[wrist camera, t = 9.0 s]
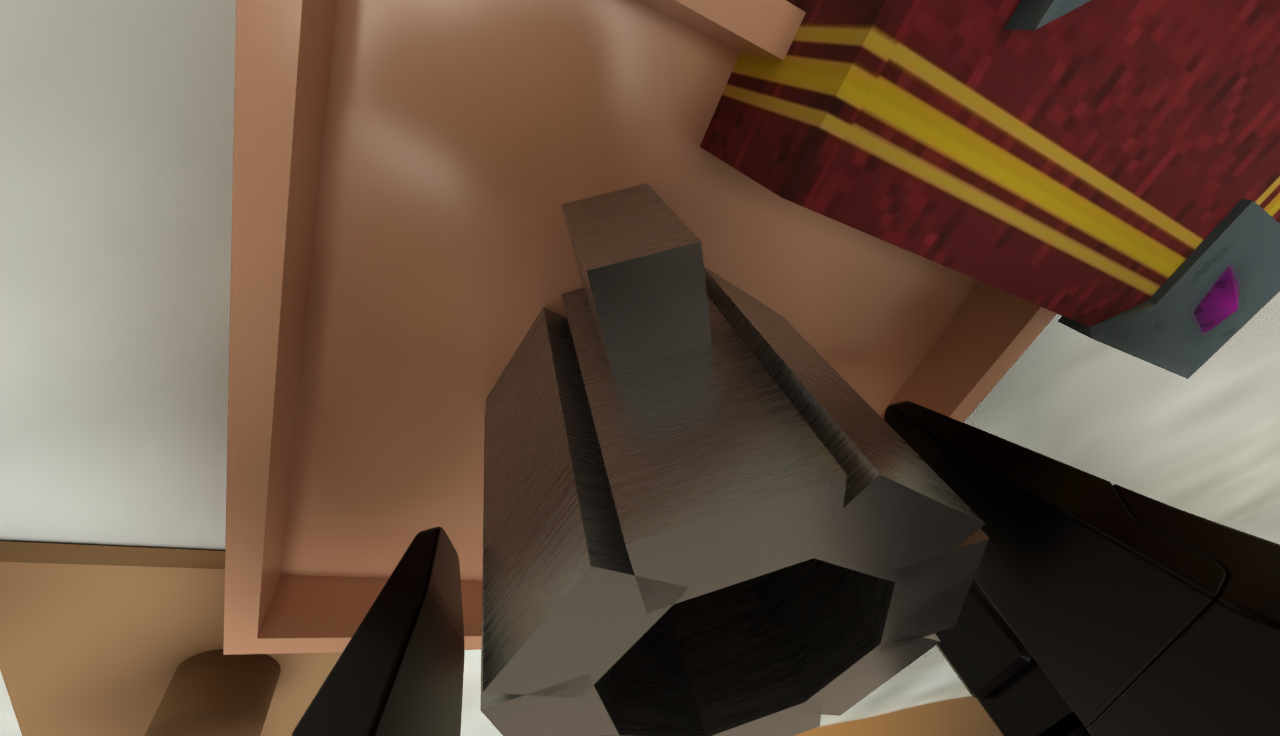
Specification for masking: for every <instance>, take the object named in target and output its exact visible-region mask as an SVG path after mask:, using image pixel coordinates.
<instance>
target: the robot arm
mask: <svg viewBox="0 0 1280 736" xmlns="http://www.w3.org/2000/svg"><path fill="white" fill-rule="evenodd" d="M883 420H884V421H885V422H886V423H887V424H888V425H889V426H890V427H891V428H892V429H893V430H894V431H895V432H896V433H897V434H898V435H899V436H900V437H901V438H902V439H903V440H904V441H905V442H906V443H907V444H908V445H909V446H910V447H911V448H912V449H913V450H914V451H915V452H916V453H917V454H918V455H919V456H920V457H921V458H922V460H923V461H924V462H925V463H926V464H927V465H928V466H929V467H930V468H931V469H932V470H933V471H934V472H935V473H936V474H937V475H938V476H939V477H940V478H941V479H942V480H943V481H944V482H945V483H946V484H947V485H948V486H949V487H950V488H951V489H952V490H953V491H954V492H955V493H956V494H957V495H958V496H959V497H960V498H961V499H962V500H963V502H964V503H965V504H966V505H967V506H968V507H969V508H970V509H971V510H972V511H973V512H974V513H975V514H976V515H977V516H978V517H979V518H980V519H981V520H982V521H983V522H984V523H985V525H983V526H982V527H981V528H980V529H981V530H982V531H983V532H984V533H985V534H986V535H987V536H988V537H989V541H988V543H987V546H986V548H985V551H984V553H983V556H982V558H981V561H980V563H979V566H978V568H977V571H976V573H975V576H974V578H973V581H972V583H971V586H970V588H969V591H968V594H967V596H966V599H965V601H964V604H963V606H962V609H961V611H960V614H959V616H958V619H957V621H956V624H955V626H954V627H951V628H949V629H946V630H943V631H940V632H937V633H935V634H936V635H937V637H938V638H939V640H940V641H941V642H939V643H938V644H936V646H937V647H938V649H939V650H940V652H941V653H942V654H943V656H944V657H945V659H946V660H947V661H948V663H949V664H950V666H951V667H952V668H953V670H954V671H955V673H956V674H957V676H958V677H959V678H960V680H961V681H962V683H963V684H964V685H965V687H966V688H967V690H968V691H969V692H970V694H971V695H972V696H973V697H975V698H977V699H978V701H979V702H980V704H981V705H982V707H984V709H985V711H986V712H987V713H988V715H989V716H990V718H991V719H992V721H993V722H994V723H995V725H996V726H997V727H998V729H999V730H1000V732H1001V733H1002V734H1003V736H1280V545H1279V544H1276V543H1273V542H1270V541H1268V540H1265V539H1262V538H1259V537H1256V536H1253V535H1250V534H1247V533H1244V532H1241V531H1239V530H1236V529H1233V528H1230V527H1227V526H1224V525H1221V524H1219V523H1216V522H1213V521H1210V520H1207V519H1205V518H1202V517H1199V516H1196V515H1193V514H1191V513H1188V512H1185V511H1182V510H1180V509H1177V508H1174V507H1172V506H1169V505H1167V504H1164V503H1161V502H1159V501H1156V500H1154V499H1151V498H1149V497H1146V496H1143V495H1141V494H1138V493H1136V492H1134V491H1131V490H1129V489H1126V488H1124V487H1121V486H1119V485H1116V484H1114V485H1112V484H1111V483H1110V482H1109V481H1106V480H1104V479H1101V478H1099V477H1096V476H1094V475H1091V474H1089V473H1086V472H1084V471H1081V470H1079V469H1076V468H1074V467H1071V466H1069V465H1067V464H1064V463H1062V462H1059V461H1057V460H1054V459H1052V458H1049V457H1047V456H1044V455H1042V454H1039V453H1037V452H1034V451H1032V450H1030V449H1027V448H1025V447H1022V446H1020V445H1017V444H1015V443H1012V442H1010V441H1007V440H1005V439H1002V438H1000V437H997V436H995V435H992V434H990V433H988V432H985V431H983V430H980V429H978V428H975V427H973V426H970V425H968V424H965V423H963V422H960V421H958V420H955V419H953V418H950V417H948V416H946V415H943V414H941V413H938V412H936V411H933V410H931V409H928V408H926V407H923V406H921V405H918V404H916V403H913V402H911V401H901V402H898V403H894V404H890V405H888V407H887V408H886V410H885V414H884V419H883ZM464 645H465V643H464V624H463V608H462V593H461V577H460V563H459V557H458V554H457V551H456V550H455V548H454V546H453V544H452V542H451V541H450V539H449V537H448V535H447V534H446V532H445V530H444V529H443V528H442V527H434V528H430V529H427V530H423V531H420V532H419V533H418V534H417V535H416V536H415V537H414V539H413V541H412V542H411V544H410V545H409V547H408V548H407V550H406V552H405V553H404V555H403V556H402V558H401V560H400V561H399V563H398V564H397V566H396V568H395V569H394V571H393V572H392V574H391V576H390V577H389V579H388V580H387V582H386V584H385V585H384V587H383V588H382V590H381V592H380V593H379V595H378V596H377V598H376V600H375V601H374V603H373V604H372V606H371V608H370V609H369V611H368V612H367V614H366V616H365V617H364V619H363V620H362V622H361V624H360V625H359V627H358V628H357V630H356V632H355V633H354V635H353V636H352V638H351V640H350V641H349V643H348V644H347V646H346V647H345V649H344V651H343V652H342V654H341V655H340V657H339V659H338V660H337V662H336V663H335V665H334V667H333V668H332V670H331V671H330V673H329V675H328V676H327V678H326V679H325V681H324V683H323V684H322V686H321V687H320V689H319V691H318V692H317V694H316V695H315V697H314V699H313V700H312V702H311V703H310V705H309V707H308V708H307V710H306V711H305V713H304V715H303V716H302V718H301V719H300V721H299V723H298V724H297V726H296V727H295V729H294V731H293V732H292V736H460V731H461V712H462V692H463V672H464Z"/></svg>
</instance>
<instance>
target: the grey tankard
mask: <svg viewBox="0 0 1280 736" xmlns="http://www.w3.org/2000/svg"><path fill="white" fill-rule="evenodd" d="M561 205H562V209H563V212H564V216H565V220H566V224H567V228H568V232H569V235H570V239H571V243H572V247H573V251H574V255H575V258H576V262H577V266H578V270H579V274H580V277H581V281H582V285H583V288H582V289H578V290H574V291H571V292H567V293H563V294H561V295H562V299H563V303H564V307H565V311H566V315H567V318H566V317H564V316H561V315H559V314H557V313H555V312H553V311H551V310H549V309H547V308H545V307H543V308H542V310H541V311H540V313H539V315H538V316H537V318H536V319H535V321H534V323H533V324H532V326H531V327H530V329H529V331H528V332H527V334H526V335H525V337H524V339H523V340H522V342H521V343H520V345H519V347H518V348H517V350H516V351H515V353H514V355H513V356H512V358H511V359H510V361H509V363H508V364H507V366H506V367H505V369H504V371H503V372H502V374H501V375H500V377H499V379H498V380H497V382H496V383H495V385H494V387H493V388H492V390H491V391H490V393H489V395H488V396H487V398H486V415H485V438H484V509H483V579H482V650H481V711H482V712H483V713H484V714H485V716H486V717H487V718H488V719H489V720H490V721H491V722H492V724H493V725H494V726H495V727H496V728H497V729H498V730H499V732H500V733H501V734H502V735H503V736H794V735H797V734H799V733H802V732H805V731H808V730H810V729H813V728H816V727H819V726H820V718H821V714H825V715H841V714H843V713H844V712H845V711H847V710H848V709H849V708H851V707H852V706H854V705H855V704H856V703H858V702H859V701H860V700H862V699H863V698H864V697H866V696H867V695H868V694H870V693H871V692H873V691H874V690H875V689H877V688H878V687H879V686H881V685H882V684H883V683H885V682H886V681H888V680H889V679H890V678H892V677H893V676H894V675H896V674H897V673H898V672H900V671H901V670H902V669H904V668H905V667H907V666H908V665H909V664H911V663H912V662H913V661H915V660H916V659H917V658H919V657H920V656H922V655H923V654H924V653H926V652H927V651H928V650H930V649H931V648H932V647H934V646H935V645H936V644H938V643H939V642H941V641H940V640H939V638H938V637H937V635H936V634H935V633H937V632H940V631H943V630H946V629H949V628H951V627H954V626H955V624H956V621H957V619H958V616H959V614H960V611H961V609H962V606H963V604H964V601H965V599H966V596H967V594H968V591H969V588H970V586H971V583H972V581H973V578H974V576H975V573H976V571H977V568H978V566H979V563H980V561H981V558H982V556H983V553H984V551H985V548H986V546H987V543H988V541H989V537H988V536H987V535H986V534H985V533H984V532H983V531H982V530H981V529H980V528H981V527H982V526H983V525H985V523H984V522H983V521H982V520H981V519H980V518H979V517H978V516H977V515H976V514H975V513H974V512H973V511H972V510H971V509H970V508H969V507H968V506H967V505H966V504H965V503H964V502H963V500H962V499H961V498H960V497H959V496H958V495H957V494H956V493H955V492H954V491H953V490H952V489H951V488H950V487H949V486H948V485H947V484H946V483H945V482H944V481H943V480H942V479H941V478H940V477H939V476H938V475H937V474H936V473H935V472H934V471H933V470H932V469H931V468H930V467H929V466H928V465H927V464H926V463H925V462H924V461H923V460H922V458H921V457H920V456H919V455H918V454H917V453H916V452H915V451H914V450H913V449H912V448H911V447H910V446H909V445H908V444H907V443H906V442H905V441H904V440H903V439H902V438H901V437H900V436H899V435H898V434H897V433H896V432H895V431H894V430H893V429H892V428H891V427H890V426H889V425H888V424H887V423H886V422H885V421H884V420H883V419H882V417H881V416H880V415H879V414H878V413H877V412H876V411H875V410H874V409H873V408H872V407H871V406H870V405H869V404H868V403H867V402H866V401H865V400H864V399H863V398H862V397H861V396H860V395H859V394H858V393H857V392H856V391H855V390H854V389H853V388H852V387H851V386H850V385H849V384H848V383H847V382H846V381H845V380H844V379H843V378H842V377H841V375H840V374H839V373H838V372H837V371H836V370H835V369H834V368H833V367H832V366H831V365H830V364H829V363H828V362H827V361H826V360H825V359H824V358H823V357H822V356H821V355H820V354H819V353H818V352H817V351H816V350H815V349H814V348H813V347H812V346H811V345H810V344H809V343H808V342H807V341H806V340H805V339H804V338H803V337H802V336H801V335H800V333H799V332H798V331H797V330H796V329H795V328H794V327H793V326H792V325H791V324H790V323H789V322H788V321H787V320H786V319H785V318H784V317H783V316H782V315H780V314H779V313H777V312H776V311H774V310H772V309H771V308H769V307H768V306H766V305H764V304H763V303H761V302H760V301H758V300H757V299H755V298H753V297H752V296H750V295H749V294H747V293H745V292H744V291H742V290H741V289H739V288H738V287H736V286H734V285H733V284H731V283H730V282H728V281H726V280H725V279H723V278H722V277H720V276H719V275H717V274H715V273H714V272H712V271H711V270H709V269H707V268H706V267H704V262H703V252H702V242H701V240H700V239H699V238H698V237H697V236H696V235H695V234H694V233H693V232H692V230H691V229H690V228H689V227H688V226H687V225H686V224H685V223H684V222H683V221H682V220H681V219H680V218H679V217H678V216H677V215H676V213H675V212H674V211H673V210H672V209H671V208H670V207H669V206H668V205H667V204H666V203H665V202H664V201H663V200H662V199H661V198H660V196H659V195H658V194H657V193H656V192H655V191H654V190H653V189H652V188H651V187H650V186H649V185H648V184H647V183H645V184H641V185H637V186H633V187H629V188H625V189H621V190H617V191H613V192H609V193H605V194H601V195H597V196H593V197H589V198H585V199H581V200H577V201H573V202H569V203H565V204H561Z"/></svg>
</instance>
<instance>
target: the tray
mask: <svg viewBox="0 0 1280 736" xmlns="http://www.w3.org/2000/svg"><path fill="white" fill-rule="evenodd" d="M805 14H806V12H804V11H803V10H801V9H799V8H798V7H796V6H794V5H793V4H791V3H790V2H788V1H786V0H237V3H236V53H235V102H234V152H233V202H232V251H231V301H230V350H229V400H228V450H227V499H226V549H225V598H224V648H223V655H236V654H283V653H331V652H343V651H344V649H345V647H346V646H347V644H348V643H349V641H350V640H351V638H352V636H353V635H354V633H355V632H356V630H357V628H358V627H359V625H360V624H361V622H362V620H363V619H364V617H365V616H366V614H367V612H368V611H369V609H370V608H371V606H372V604H373V603H374V601H375V600H376V598H377V596H378V595H379V593H380V592H381V590H382V588H383V587H384V585H385V584H386V582H387V580H388V579H389V577H390V576H391V574H392V572H393V571H394V569H395V568H396V566H397V564H398V563H399V561H400V560H401V558H402V556H403V555H404V553H405V552H406V550H407V548H408V547H409V545H410V544H411V542H412V541H413V539H414V537H415V536H416V535H417V534H418V533H419V532H420V531H423V530H427V529H430V528H434V527H442V528H443V529H444V530H445V532H446V534H447V535H448V537H449V539H450V541H451V542H452V544H453V546H454V548H455V550H456V551H457V554H458V557H459V563H460V577H461V593H462V608H463V624H464V643H465V645H464V650H474V649H482V579H483V509H484V438H485V415H486V398H487V396H488V395H489V393H490V391H491V390H492V388H493V387H494V385H495V383H496V382H497V380H498V379H499V377H500V375H501V374H502V372H503V371H504V369H505V367H506V366H507V364H508V363H509V361H510V359H511V358H512V356H513V355H514V353H515V351H516V350H517V348H518V347H519V345H520V343H521V342H522V340H523V339H524V337H525V335H526V334H527V332H528V331H529V329H530V327H531V326H532V324H533V323H534V321H535V319H536V318H537V316H538V315H539V313H540V311H541V310H542V308H543V307H545V308H547V309H549V310H551V311H553V312H555V313H557V314H559V315H561V316H564V317H566V318H567V315H566V311H565V307H564V303H563V299H562V295H561V294H563V293H567V292H571V291H574V290H578V289H582V288H583V285H582V281H581V277H580V274H579V270H578V266H577V262H576V258H575V255H574V251H573V247H572V243H571V239H570V235H569V232H568V228H567V224H566V220H565V216H564V212H563V209H562V205H561V204H565V203H569V202H573V201H577V200H581V199H585V198H589V197H593V196H597V195H601V194H605V193H609V192H613V191H617V190H621V189H625V188H629V187H633V186H637V185H641V184H645V183H647V184H648V185H649V186H650V187H651V188H652V189H653V190H654V191H655V192H656V193H657V194H658V195H659V196H660V198H661V199H662V200H663V201H664V202H665V203H666V204H667V205H668V206H669V207H670V208H671V209H672V210H673V211H674V212H675V213H676V215H677V216H678V217H679V218H680V219H681V220H682V221H683V222H684V223H685V224H686V225H687V226H688V227H689V228H690V229H691V230H692V232H693V233H694V234H695V235H696V236H697V237H698V238H699V239H700V240H701V242H702V252H703V262H704V267H706V268H707V269H709V270H711V271H712V272H714V273H715V274H717V275H719V276H720V277H722V278H723V279H725V280H726V281H728V282H730V283H731V284H733V285H734V286H736V287H738V288H739V289H741V290H742V291H744V292H745V293H747V294H749V295H750V296H752V297H753V298H755V299H757V300H758V301H760V302H761V303H763V304H764V305H766V306H768V307H769V308H771V309H772V310H774V311H776V312H777V313H779V314H780V315H782V316H783V317H784V318H785V319H786V320H787V321H788V322H789V323H790V324H791V325H792V326H793V327H794V328H795V329H796V330H797V331H798V332H799V333H800V335H801V336H802V337H803V338H804V339H805V340H806V341H807V342H808V343H809V344H810V345H811V346H812V347H813V348H814V349H815V350H816V351H817V352H818V353H819V354H820V355H821V356H822V357H823V358H824V359H825V360H826V361H827V362H828V363H829V364H830V365H831V366H832V367H833V368H834V369H835V370H836V371H837V372H838V373H839V374H840V375H841V377H842V378H843V379H844V380H845V381H846V382H847V383H848V384H849V385H850V386H851V387H852V388H853V389H854V390H855V391H856V392H857V393H858V394H859V395H860V396H861V397H862V398H863V399H864V400H865V401H866V402H867V403H868V404H869V405H870V406H871V407H872V408H873V409H874V410H875V411H876V412H877V413H878V414H879V415H880V416H881V417H882V419H884V414H885V410H886V408H887V407H888V405H890V404H894V403H898V402H901V401H911V402H913V403H916V404H918V405H921V406H923V407H926V408H928V409H931V410H933V411H936V412H938V413H941V414H943V415H946V416H948V417H950V418H953V419H955V420H958V421H960V422H964V421H965V420H966V419H967V418H968V417H969V415H970V414H971V413H972V412H973V411H974V410H975V408H976V407H977V406H978V405H979V404H980V403H981V401H982V400H983V399H984V398H985V397H986V396H987V394H988V393H989V392H990V391H991V390H992V389H993V387H994V386H995V385H996V384H997V383H998V382H999V380H1000V379H1001V378H1002V377H1003V376H1004V375H1005V374H1006V372H1007V371H1008V370H1009V369H1010V368H1011V367H1012V365H1013V364H1014V363H1015V362H1016V361H1017V360H1018V358H1019V357H1020V356H1021V355H1022V354H1023V353H1024V351H1025V350H1026V349H1027V348H1028V347H1029V346H1030V344H1031V343H1032V342H1033V341H1034V340H1035V339H1036V337H1037V336H1038V335H1039V334H1040V333H1041V332H1042V330H1043V329H1044V328H1045V327H1046V326H1047V325H1048V323H1049V322H1050V321H1051V320H1052V319H1053V318H1054V316H1055V315H1056V314H1057V313H1055V312H1052V311H1050V310H1048V309H1045V308H1043V307H1040V306H1038V305H1036V304H1033V303H1031V302H1028V301H1026V300H1024V299H1021V298H1019V297H1017V296H1014V295H1012V294H1009V293H1007V292H1005V291H1002V290H1000V289H998V288H995V287H993V286H990V285H988V284H986V283H983V282H981V281H978V280H976V279H974V278H971V277H969V276H967V275H964V274H962V273H959V272H957V271H955V270H952V269H950V268H948V267H945V266H943V265H940V264H938V263H936V262H933V261H931V260H928V259H926V258H924V257H921V256H919V255H917V254H914V253H912V252H909V251H907V250H905V249H902V248H900V247H898V246H895V245H893V244H890V243H888V242H886V241H883V240H881V239H878V238H876V237H874V236H871V235H869V234H867V233H864V232H862V231H859V230H857V229H855V228H852V227H850V226H847V225H845V224H843V223H840V222H838V221H836V220H833V219H831V218H828V217H826V216H824V215H821V214H819V213H817V212H814V211H812V210H809V209H807V208H805V207H802V206H800V205H797V204H795V203H793V202H790V201H788V200H786V199H783V198H781V197H780V196H778V195H777V194H775V193H773V192H772V191H770V190H768V189H767V188H765V187H764V186H762V185H760V184H759V183H757V182H756V181H754V180H752V179H751V178H749V177H748V176H746V175H744V174H743V173H741V172H739V171H738V170H736V169H735V168H733V167H731V166H730V165H728V164H727V163H725V162H723V161H722V160H720V159H719V158H717V157H715V156H714V155H712V154H710V153H709V152H707V151H706V150H704V149H702V148H701V147H700V145H701V143H702V140H703V138H704V136H705V133H706V131H707V129H708V126H709V124H710V122H711V119H712V117H713V115H714V112H715V110H716V108H717V105H718V103H719V100H720V98H721V96H722V93H723V91H724V89H725V86H726V84H727V82H728V79H729V77H730V75H731V72H732V70H733V68H734V65H735V63H736V61H737V58H738V56H739V54H744V55H751V56H758V57H765V58H771V59H778V60H784V59H785V57H786V54H787V52H788V50H789V48H790V46H791V44H792V41H793V39H794V37H795V35H796V33H797V31H798V29H799V26H800V24H801V22H802V20H803V18H804V16H805Z"/></svg>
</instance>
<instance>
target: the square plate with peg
mask: <svg viewBox="0 0 1280 736" xmlns="http://www.w3.org/2000/svg"><path fill="white" fill-rule="evenodd" d="M224 598H225V551H210V550H188V549H165V548H143V547H121V546H98V545H76V544H54V543H31V542H9V541H0V670H1V673H2V676H3V679H4V682H5V685H6V688H7V691H8V694H9V697H10V700H11V703H12V706H13V709H14V712H15V715H16V718H17V721H18V724H19V727H20V730H21V733H22V736H292V732H293V731H294V729H295V727H296V726H297V724H298V723H299V721H300V719H301V718H302V716H303V715H304V713H305V711H306V710H307V708H308V707H309V705H310V703H311V702H312V700H313V699H314V697H315V695H316V694H317V692H318V691H319V689H320V687H321V686H322V684H323V683H324V681H325V679H326V678H327V676H328V675H329V673H330V671H331V670H332V668H333V667H334V665H335V663H336V662H337V660H338V659H339V657H340V655H341V654H342V652H331V653H283V654H236V655H223V648H224Z"/></svg>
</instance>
